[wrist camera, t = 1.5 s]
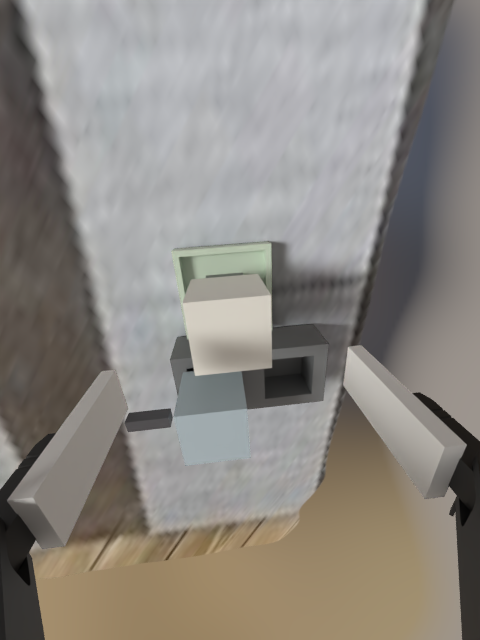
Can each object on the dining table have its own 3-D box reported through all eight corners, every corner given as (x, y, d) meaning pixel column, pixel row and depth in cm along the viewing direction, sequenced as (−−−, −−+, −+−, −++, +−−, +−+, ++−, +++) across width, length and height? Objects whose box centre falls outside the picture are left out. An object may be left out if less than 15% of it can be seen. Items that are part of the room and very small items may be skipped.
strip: (144, 340, 30) (102, 415, 19) (312, 324, 31) (363, 386, 20) (157, 391, 34) (128, 480, 23) (309, 375, 35) (351, 452, 24)
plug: (195, 267, 26) (182, 303, 17) (251, 262, 27) (271, 295, 17) (202, 318, 29) (195, 376, 19) (253, 313, 29) (272, 368, 19)
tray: (174, 248, 26) (171, 251, 24) (267, 241, 27) (271, 243, 25) (188, 332, 30) (187, 339, 29) (269, 324, 31) (272, 331, 29)
